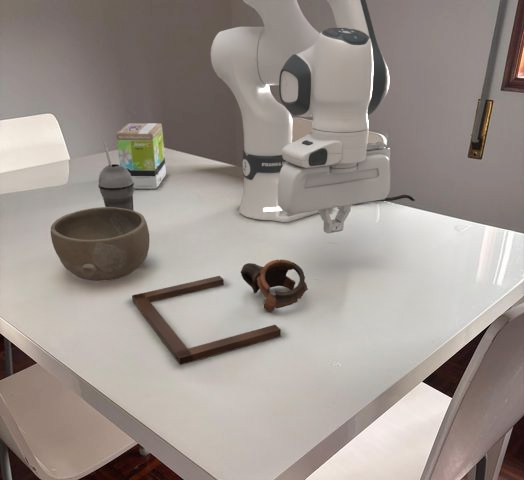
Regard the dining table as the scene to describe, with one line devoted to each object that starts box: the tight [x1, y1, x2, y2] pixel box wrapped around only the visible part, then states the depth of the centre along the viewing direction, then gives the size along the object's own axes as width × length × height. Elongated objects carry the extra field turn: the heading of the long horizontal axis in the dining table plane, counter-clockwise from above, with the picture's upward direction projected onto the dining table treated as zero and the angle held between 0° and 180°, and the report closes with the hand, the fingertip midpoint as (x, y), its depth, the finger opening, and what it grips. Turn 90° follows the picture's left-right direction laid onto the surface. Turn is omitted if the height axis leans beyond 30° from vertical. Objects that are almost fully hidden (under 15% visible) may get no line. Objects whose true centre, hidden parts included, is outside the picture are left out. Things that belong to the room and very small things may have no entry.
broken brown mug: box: [240, 259, 309, 313], centre depth 95 cm, size 12×10×8 cm
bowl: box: [50, 206, 150, 282], centre depth 105 cm, size 17×18×10 cm
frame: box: [131, 275, 282, 366], centre depth 91 cm, size 16×23×1 cm
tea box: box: [115, 122, 167, 190], centre depth 156 cm, size 15×10×15 cm, turn 179°
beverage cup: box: [98, 141, 135, 211], centre depth 118 cm, size 7×7×20 cm
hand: (333, 231), depth 96 cm, fingers closed
